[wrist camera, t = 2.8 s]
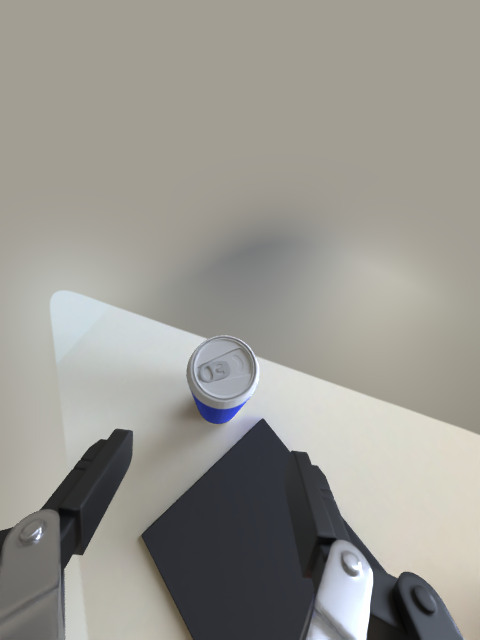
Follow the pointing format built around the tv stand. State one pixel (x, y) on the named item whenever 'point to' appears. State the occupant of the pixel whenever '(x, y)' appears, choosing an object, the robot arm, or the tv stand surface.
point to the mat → (237, 547)
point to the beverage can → (222, 377)
